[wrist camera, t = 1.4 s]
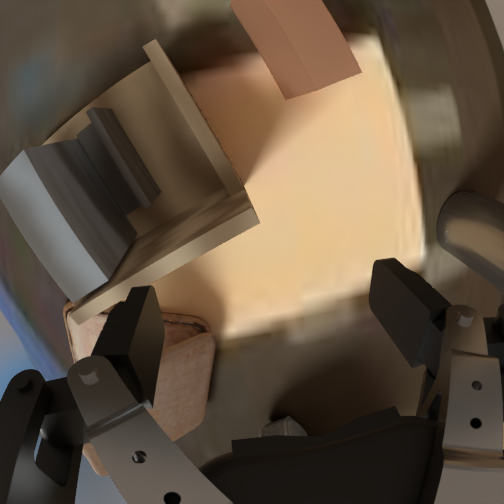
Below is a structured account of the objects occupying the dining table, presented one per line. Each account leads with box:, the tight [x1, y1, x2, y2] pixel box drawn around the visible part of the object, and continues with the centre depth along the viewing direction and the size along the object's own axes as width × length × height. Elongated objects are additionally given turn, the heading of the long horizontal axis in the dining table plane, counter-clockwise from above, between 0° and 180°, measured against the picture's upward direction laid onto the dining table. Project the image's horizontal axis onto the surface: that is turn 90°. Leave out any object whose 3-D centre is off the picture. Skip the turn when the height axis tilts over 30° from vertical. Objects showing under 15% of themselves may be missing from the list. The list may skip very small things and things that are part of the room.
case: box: [63, 300, 216, 476], centre depth 32 cm, size 20×21×16 cm
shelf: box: [0, 39, 260, 325], centre depth 23 cm, size 17×16×12 cm
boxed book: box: [230, 0, 362, 100], centre depth 20 cm, size 4×12×10 cm, turn 28°
